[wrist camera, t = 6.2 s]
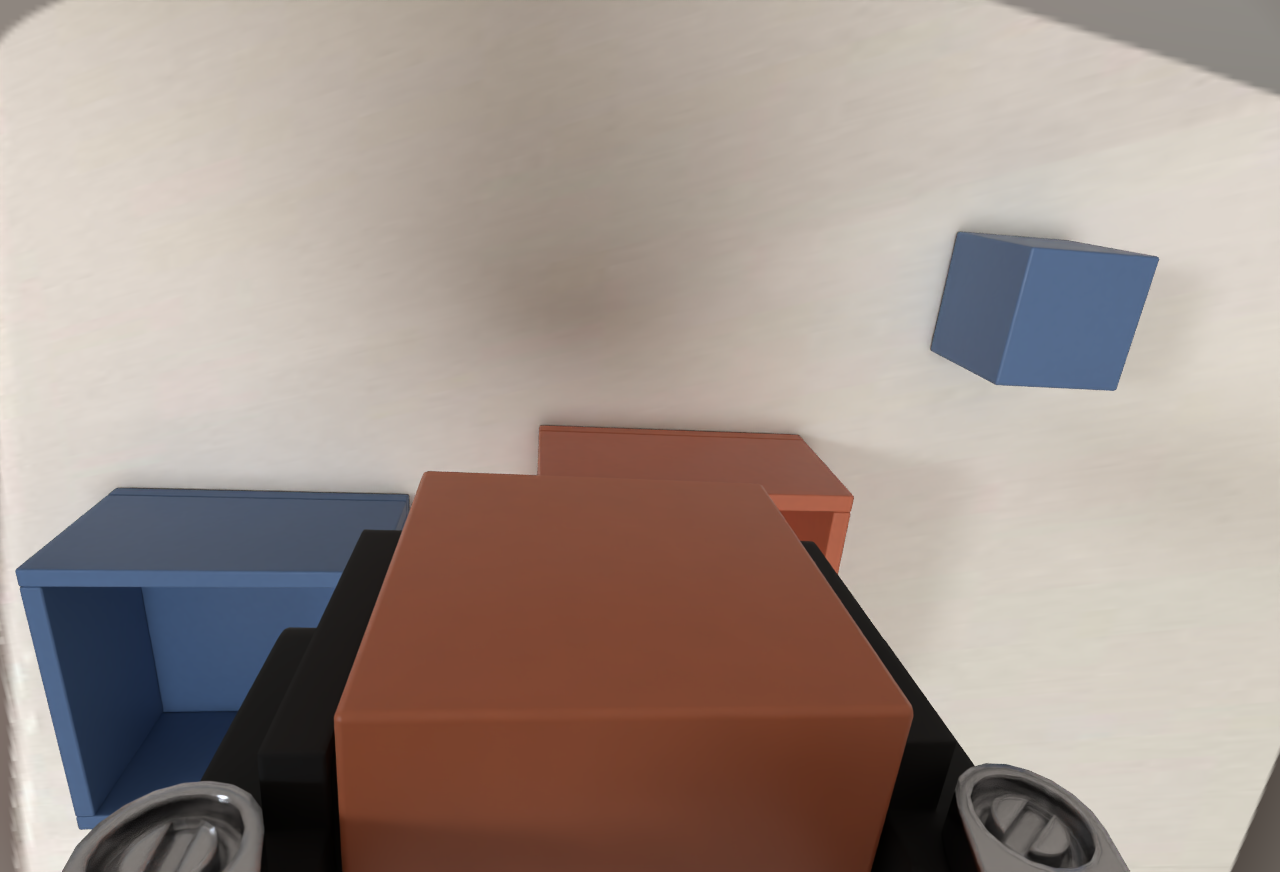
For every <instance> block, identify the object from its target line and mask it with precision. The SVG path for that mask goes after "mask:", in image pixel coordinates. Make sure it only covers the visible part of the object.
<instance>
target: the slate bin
mask: <svg viewBox="0 0 1280 872" xmlns="http://www.w3.org/2000/svg"><path fill="white" fill-rule="evenodd" d="M408 514H409V496H408V495H404V494H359V493H315V492H270V491H226V490H181V489H136V488H116V489H114V490H113V491H112V492H111V493H109V495H108V496H106V497H105V498H103V499H102V500H101V501H100V502H98V503H97V504H96V505H95V506H94V507H92V508H91V509H90V510H89V511H87V512H86V513H85V514H84V515H82V516H81V517H80V518H79V519H77V520H76V521H75V522H74V523H73V524H71V525H70V526H69V527H68V528H66V529H65V530H64V531H63V532H61V533H60V534H59V535H58V536H57V537H55V538H54V539H53V540H52V541H50V542H49V543H48V544H47V545H45V546H44V547H43V548H42V549H40V550H39V551H38V552H37V553H36V554H34V555H33V556H32V557H31V558H29V559H28V560H27V561H26V562H24V563H23V564H22V565H21V566H20V567H18V568H17V569H16V571H15V572H16V576H17V580H18V584H19V586H21V587H20V592H21V596H22V600H23V604H24V608H25V612H26V616H27V620H28V625H29V629H30V633H31V637H32V641H33V645H34V649H35V653H36V657H37V661H38V665H39V669H40V673H41V677H42V681H43V685H44V689H45V693H46V697H47V701H48V705H49V709H50V714H51V718H52V722H53V726H54V730H55V734H56V738H57V742H58V746H59V750H60V754H61V758H62V762H63V766H64V770H65V774H66V778H67V782H68V786H69V790H70V794H71V798H72V803H73V807H74V811H75V815H76V816H77V818H76V819H77V823H78V827H79V829H81V830H82V829H93V828H94V827H95V826H96V825H97V824H98V823H100V822H101V821H102V820H104V819H105V818H107V817H108V816H110V815H111V814H112V813H114V812H115V811H117V810H118V809H120V808H121V807H122V806H124V805H126V804H128V803H130V802H132V801H134V800H136V799H138V798H140V797H143V796H145V795H147V794H149V793H151V792H153V791H156V790H160V789H163V788H167V787H170V786H174V785H178V784H181V783H189V782H200V780H201V778H202V777H203V775H204V773H205V771H206V769H207V767H208V766H209V764H210V762H211V760H212V758H213V756H214V755H215V753H216V751H217V749H218V747H219V745H220V744H221V742H222V740H223V738H224V736H225V734H226V733H227V731H228V729H229V727H230V725H231V723H232V721H233V720H234V718H235V716H236V714H237V712H238V710H239V709H240V707H241V705H242V703H243V701H244V699H245V698H246V696H247V694H248V692H249V690H250V688H251V687H252V685H253V683H254V681H255V679H256V677H257V676H258V674H259V672H260V670H261V668H262V666H263V664H264V663H265V661H266V659H267V657H268V655H269V653H270V652H271V650H272V648H273V646H274V644H275V642H276V641H277V639H278V637H279V636H280V634H281V633H282V631H283V630H284V629H286V628H289V627H302V628H317V626H318V624H319V622H320V620H321V617H322V615H323V613H324V611H325V609H326V607H327V605H328V603H329V601H330V598H331V596H332V594H333V592H334V590H335V588H336V586H337V584H338V582H339V579H340V577H341V575H342V573H343V571H344V569H345V567H346V565H347V562H348V560H349V558H350V556H351V554H352V552H353V550H354V548H355V546H356V543H357V541H358V539H359V537H360V535H361V533H362V531H363V530H365V529H368V530H403V527H404V525H405V522H406V519H407V516H408Z"/></svg>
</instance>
